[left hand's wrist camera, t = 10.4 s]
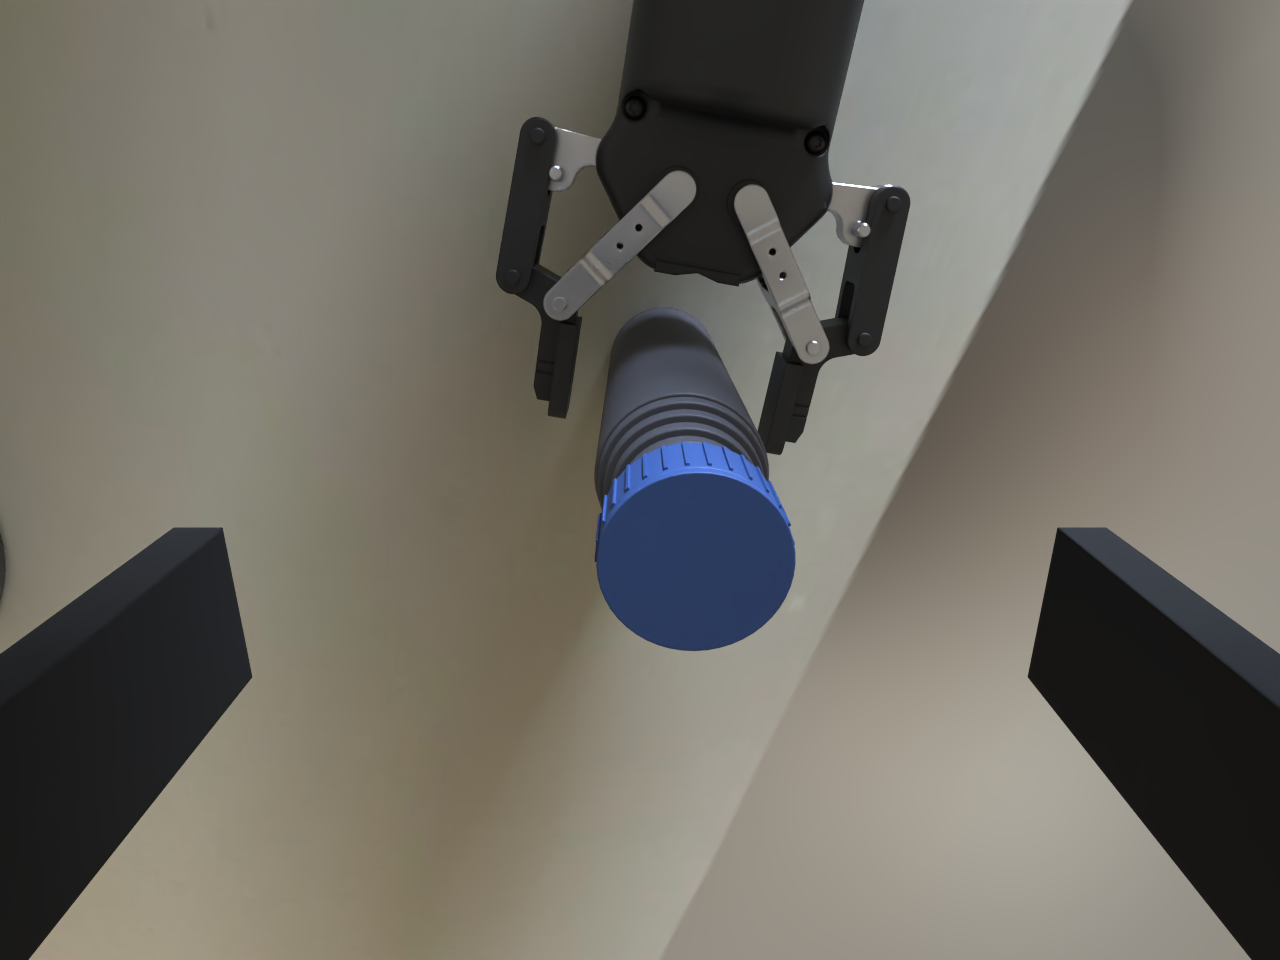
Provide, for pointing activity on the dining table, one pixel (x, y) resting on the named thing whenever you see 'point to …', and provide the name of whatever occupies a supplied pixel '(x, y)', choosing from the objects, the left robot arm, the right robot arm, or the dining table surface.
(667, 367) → the bottle
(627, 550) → the cap
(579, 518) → the dining table surface
